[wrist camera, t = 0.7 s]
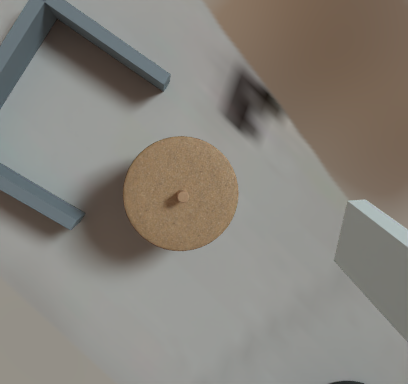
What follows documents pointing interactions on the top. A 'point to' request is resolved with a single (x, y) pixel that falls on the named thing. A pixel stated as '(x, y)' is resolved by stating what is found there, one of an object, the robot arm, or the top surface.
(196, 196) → the lidded jar
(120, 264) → the top surface
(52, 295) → the top surface
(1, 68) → the corral
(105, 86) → the top surface
